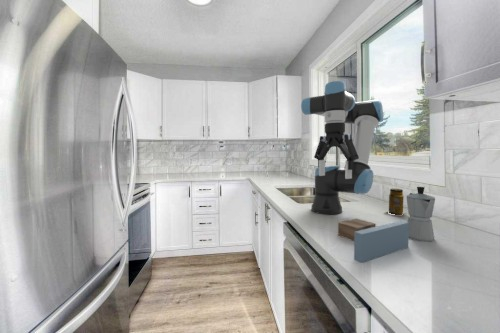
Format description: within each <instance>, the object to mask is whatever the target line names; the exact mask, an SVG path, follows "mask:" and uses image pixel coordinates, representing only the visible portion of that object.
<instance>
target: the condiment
mask: <svg viewBox="0 0 500 333" xmlns="http://www.w3.org/2000/svg"><path fill="white" fill-rule="evenodd" d="M388 211H389V213H391V214H395V215H394V217H395V216H396V217H402V216H403V215H402V214H403V213H404V192H403V189H402V188H401V189H400V188H390V190H389V195H388ZM388 211H386V212H384V213H383V214H385V215H389V216H391V215H390V214H388Z"/></svg>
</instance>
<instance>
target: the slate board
mask: <svg viewBox="0 0 500 333" xmlns="http://www.w3.org/2000/svg"><path fill="white" fill-rule="evenodd" d="M408 236H409V222H408V221H404V220H398V221H394V222H389V223H385V224H381V225H376V227H372V228H368V229H364V230H360V231H355V233H354V241H353V242H354V243H353V244H354V247H353V253H354V254H353V259H354V260H355V261H357V262H359V263H365V262H368V261H372V260H375V259H378V258H380V257H383V256H386V255H389V254H392V253H395V252H399V251H402V250H405V249H407V248H409V238H408Z"/></svg>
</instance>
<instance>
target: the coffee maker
mask: <svg viewBox="0 0 500 333" xmlns="http://www.w3.org/2000/svg"><path fill="white" fill-rule="evenodd" d="M416 190H417V193H411V192H410V193H409V194H407V195H406V202H407V203H406V204H407V212H408V213H407V214H408V215H409V217H407V222H409V236H408V239H410V240H413V241H418V242H428V243H429V242H430V243H431V242H433V241H435V235H434V233H435V232H434V228H433V221H432V219H431V218H432V217H433V212H434V207H435V202H436V201H435V200H436V198H435V196H432V195H430V194H429V195H428V194H426V193H424V192H425V186H416Z"/></svg>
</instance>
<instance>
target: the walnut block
mask: <svg viewBox="0 0 500 333" xmlns="http://www.w3.org/2000/svg"><path fill="white" fill-rule="evenodd" d="M337 225H338V226H337V235H338V237H342V238H344V239H347V240H351V241H353V242H354V233H355V231H360V230H364V229H368V228H372V227H376V226H377V224H376V223H375V222H371V221H367V220H363V219H359V218H353V219H348V220H344V221H339V222H338V223H337Z"/></svg>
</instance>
